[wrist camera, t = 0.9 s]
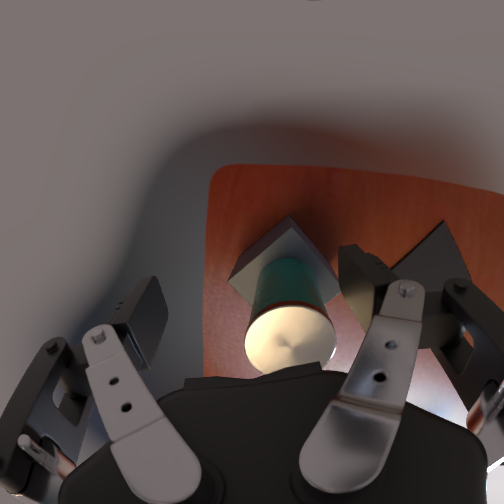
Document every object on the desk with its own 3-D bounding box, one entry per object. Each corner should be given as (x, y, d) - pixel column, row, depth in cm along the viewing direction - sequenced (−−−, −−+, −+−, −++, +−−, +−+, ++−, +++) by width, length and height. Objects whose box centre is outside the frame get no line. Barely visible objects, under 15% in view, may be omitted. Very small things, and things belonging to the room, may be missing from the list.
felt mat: (442, 220, 30) (444, 221, 30) (471, 282, 32) (472, 283, 31) (368, 287, 34) (369, 289, 33) (405, 341, 35) (406, 342, 35)
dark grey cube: (288, 214, 32) (291, 226, 24) (330, 264, 33) (344, 289, 26) (238, 257, 34) (226, 281, 26) (280, 303, 35) (280, 336, 28)
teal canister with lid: (290, 243, 25) (298, 286, 15) (329, 288, 26) (353, 348, 16) (243, 282, 26) (224, 341, 17) (282, 323, 27) (283, 392, 17)
